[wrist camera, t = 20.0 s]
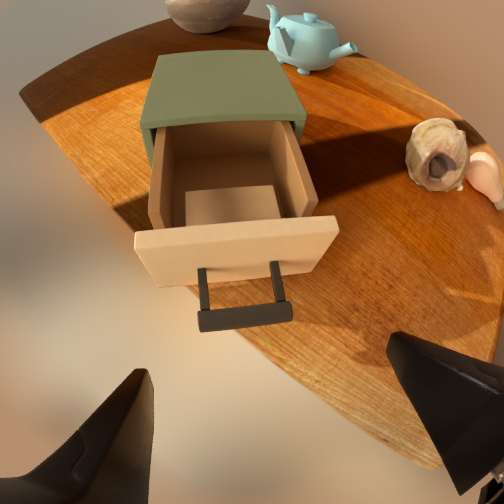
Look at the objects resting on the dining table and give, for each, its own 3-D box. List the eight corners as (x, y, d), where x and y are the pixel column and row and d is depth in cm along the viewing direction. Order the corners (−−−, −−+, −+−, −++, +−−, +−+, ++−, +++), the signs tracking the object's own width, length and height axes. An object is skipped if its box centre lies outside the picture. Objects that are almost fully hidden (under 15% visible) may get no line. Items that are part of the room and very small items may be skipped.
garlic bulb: (393, 167, 35) (403, 103, 27) (437, 169, 34) (450, 111, 27) (423, 206, 28) (443, 131, 21) (469, 206, 28) (491, 141, 20)
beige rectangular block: (268, 203, 24) (273, 184, 22) (277, 243, 22) (283, 227, 20) (188, 209, 23) (184, 191, 21) (189, 251, 21) (186, 235, 19)
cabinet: (289, 180, 28) (308, 114, 20) (156, 189, 26) (138, 123, 18) (264, 103, 34) (272, 50, 27) (165, 109, 32) (158, 55, 25)
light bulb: (518, 192, 28) (488, 138, 27) (515, 217, 26) (483, 159, 26) (493, 200, 34) (462, 152, 34) (486, 224, 33) (454, 173, 33)
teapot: (258, 73, 39) (266, 14, 29) (260, 47, 45) (266, 1, 35) (346, 88, 40) (364, 35, 30) (331, 59, 46) (344, 16, 36)
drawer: (322, 322, 21) (359, 296, 15) (161, 342, 19) (133, 323, 13) (279, 155, 28) (290, 104, 22) (162, 163, 27) (151, 111, 21)
